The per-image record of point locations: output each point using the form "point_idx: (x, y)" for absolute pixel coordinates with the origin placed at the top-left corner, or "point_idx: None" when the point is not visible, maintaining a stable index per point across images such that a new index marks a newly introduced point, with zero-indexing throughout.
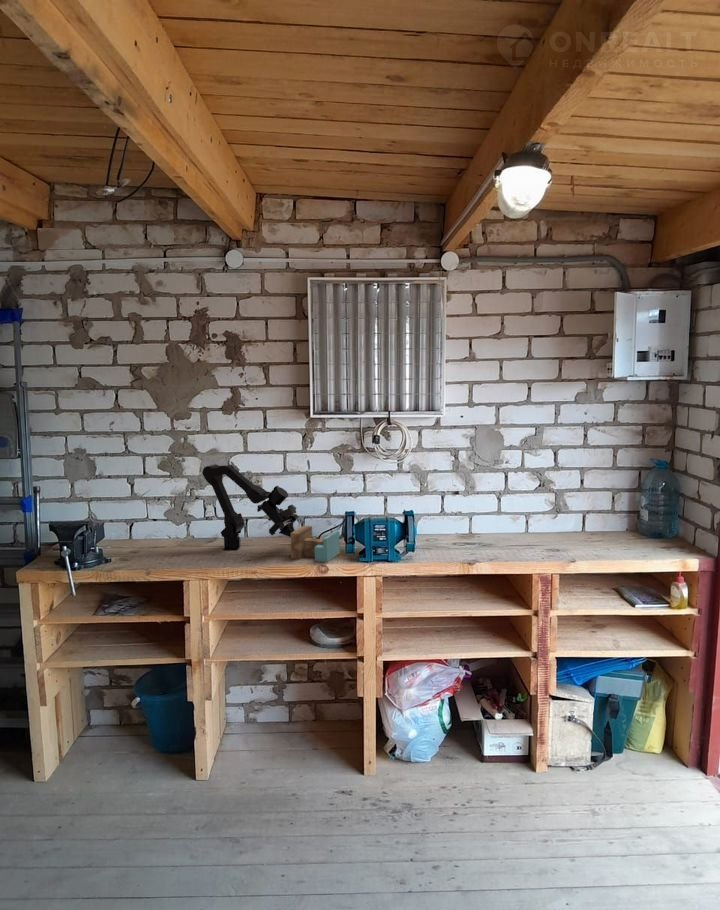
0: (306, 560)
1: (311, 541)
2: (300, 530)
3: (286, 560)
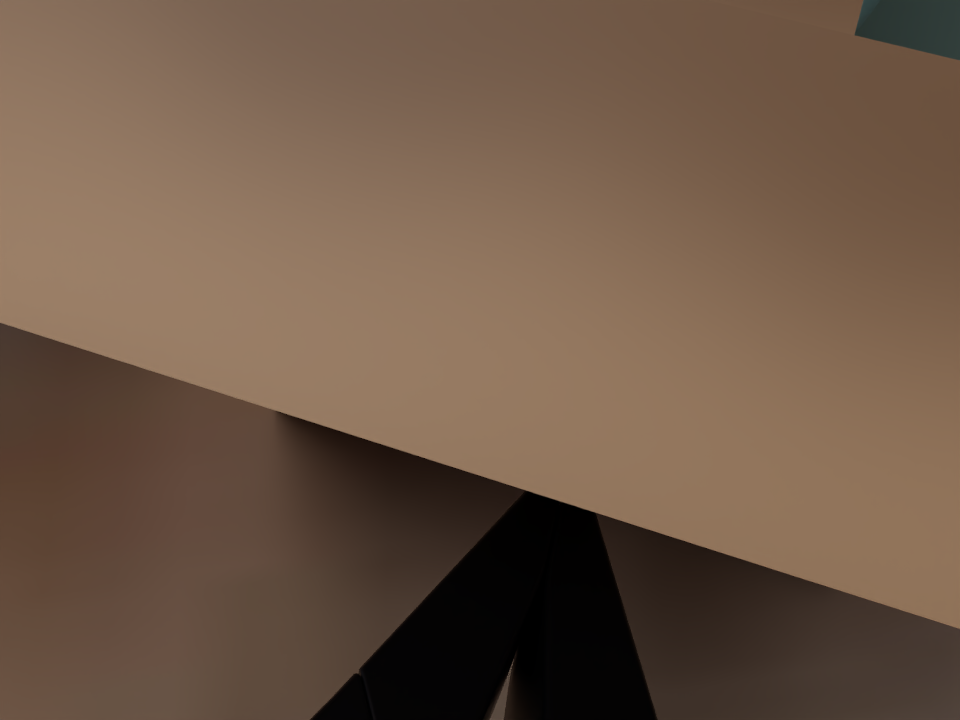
0: None
1: (853, 17)
2: (848, 275)
3: (949, 675)
